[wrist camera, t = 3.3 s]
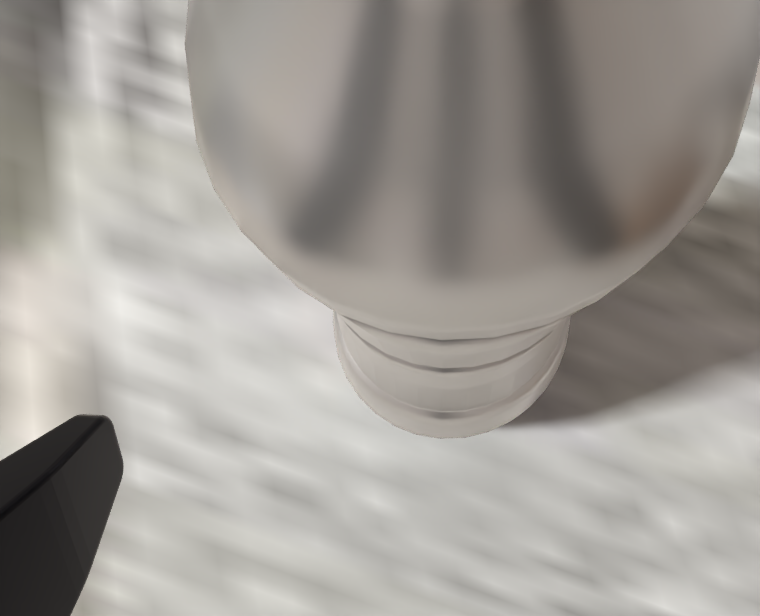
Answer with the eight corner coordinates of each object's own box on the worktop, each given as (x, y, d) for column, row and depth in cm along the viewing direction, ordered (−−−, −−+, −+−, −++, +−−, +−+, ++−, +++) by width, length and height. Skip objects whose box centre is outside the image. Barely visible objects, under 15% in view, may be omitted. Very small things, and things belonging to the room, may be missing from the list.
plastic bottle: (309, 386, 22) (-557, -324, 3) (406, 204, 24) (239, -1107, 4) (497, 484, 21) (1087, 340, 2) (590, 286, 22) (1511, -1046, 3)
